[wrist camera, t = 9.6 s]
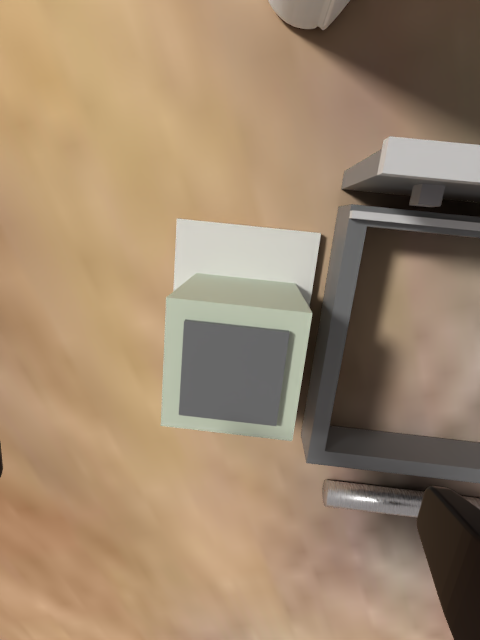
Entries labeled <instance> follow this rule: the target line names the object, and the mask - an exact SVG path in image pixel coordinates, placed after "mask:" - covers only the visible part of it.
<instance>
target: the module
mask: <svg viewBox="0 0 480 640" xmlns="http://www.w3.org/2000/svg"><path fill="white" fill-rule="evenodd" d="M311 320H312V311H311V310H310V308H309V306H308V304H307V303H306V301H305V299H304V298H303V296H302V294H301V292H300V291H299V289H298V287H297V286H296V284H295V283H287V282H277V281H268V280H258V279H249V278H240V277H230V276H221V275H211V274H202V273H196V274H194V275H193V276H192V277H191V278H189V279H188V280H187V281H186V282H185V283H183V284H182V285H181V286H180V287H178V288H177V289H176V290H175V291H174V292H172V293H171V294H170V295H169V296H167V297H166V316H165V340H164V364H163V387H162V411H161V426H167V427H176V428H184V429H193V430H201V431H210V432H218V433H227V434H236V435H244V436H253V437H261V438H270V439H279V440H287V441H292V439H293V433H294V427H295V420H296V414H297V408H298V402H299V395H300V389H301V383H302V376H303V370H304V364H305V357H306V351H307V345H308V339H309V332H310V326H311Z"/></svg>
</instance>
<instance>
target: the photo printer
mask: <svg viewBox="0 0 480 640" xmlns="http://www.w3.org/2000/svg"><path fill="white" fill-rule="evenodd" d="M268 1H269V3H270V5H271V7H272V8H273V10H274V11H275V12H276V14H277V15H278V16H279V17H280V18H281V19H282V20H284V21H285V22H286V23H288V24H290V25H292V26H294V27H297V28H302V29H314V28H316V27H317V26H319V27H320V28H321V29H322V30H325V29H326V28H327V27H328V26H329V25H330V24H331V23H332V22H333V21H334V19H335V18H336V17H337V16H338V15H339V14H340V13H341V11H342V10H343V9H344V7H345V6H346V5H347V4H348V2H349V1H350V0H268Z"/></svg>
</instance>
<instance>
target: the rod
mask: <svg viewBox="0 0 480 640" xmlns="http://www.w3.org/2000/svg"><path fill="white" fill-rule="evenodd" d="M322 495H323V503H324V506H325V507H333V508H342V509H350V510H358V511H367V512H375V513H383V514H392V515H400V516H408V517H418V513H419V510H420V506H421V503H422V499H423V496H424V492H423V491H415V490H406V489H398V488H389V487H381V486H373V485H364V484H356V483H347V482H339V481H330V480H325V481H324V483H323V492H322ZM462 497H463V498H464V499H466V500H467V501H469V502H470V503H472V504H473V505H475V506H476V507H477V508H479V509H480V498H474V497H466V496H462Z"/></svg>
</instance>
